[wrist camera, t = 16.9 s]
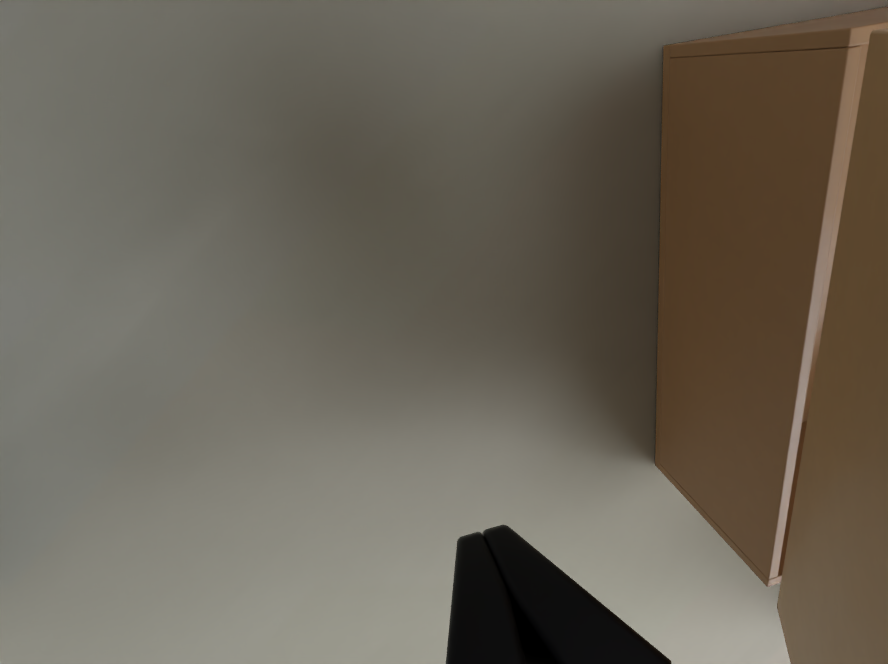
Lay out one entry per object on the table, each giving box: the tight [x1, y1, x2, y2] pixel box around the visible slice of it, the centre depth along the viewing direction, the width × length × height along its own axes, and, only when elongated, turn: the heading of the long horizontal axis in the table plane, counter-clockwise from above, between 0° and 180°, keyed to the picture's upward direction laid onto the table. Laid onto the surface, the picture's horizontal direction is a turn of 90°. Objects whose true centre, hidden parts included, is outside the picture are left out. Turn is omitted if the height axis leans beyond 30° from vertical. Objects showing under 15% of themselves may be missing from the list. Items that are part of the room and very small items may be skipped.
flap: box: [777, 28, 888, 664], centre depth 9 cm, size 7×14×1 cm
